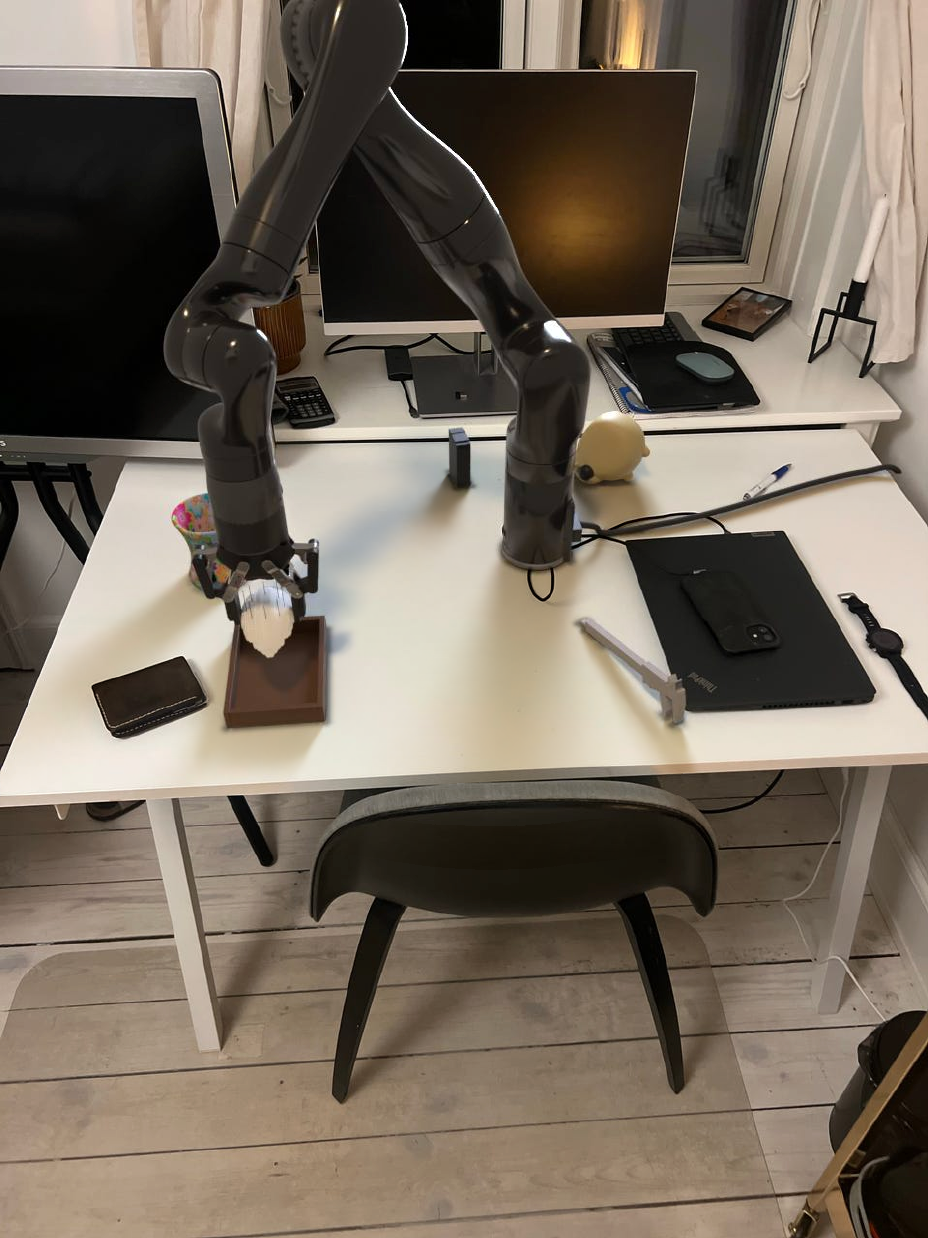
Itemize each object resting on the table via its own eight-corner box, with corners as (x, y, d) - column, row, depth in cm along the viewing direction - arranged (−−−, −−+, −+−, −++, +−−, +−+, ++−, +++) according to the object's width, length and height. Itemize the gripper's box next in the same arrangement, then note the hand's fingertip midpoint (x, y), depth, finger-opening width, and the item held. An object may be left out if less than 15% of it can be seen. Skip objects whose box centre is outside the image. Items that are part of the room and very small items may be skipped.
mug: (253, 594, 130) (240, 531, 123) (183, 598, 129) (166, 535, 122) (258, 540, 139) (247, 478, 132) (193, 544, 138) (178, 482, 131)
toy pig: (597, 477, 157) (551, 441, 152) (652, 427, 152) (606, 387, 147) (608, 511, 150) (560, 473, 145) (666, 458, 144) (619, 418, 139)
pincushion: (242, 594, 117) (235, 557, 113) (293, 588, 117) (287, 552, 114) (243, 662, 108) (235, 625, 104) (297, 656, 109) (291, 619, 105)
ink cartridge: (471, 486, 149) (471, 442, 143) (456, 489, 148) (456, 444, 143) (463, 469, 152) (463, 425, 147) (449, 471, 152) (448, 427, 147)
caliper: (682, 724, 112) (690, 686, 108) (674, 727, 112) (682, 689, 108) (585, 620, 126) (589, 584, 122) (578, 623, 125) (582, 586, 121)
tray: (326, 630, 125) (324, 615, 123) (325, 721, 113) (322, 706, 111) (238, 635, 124) (234, 620, 122) (226, 728, 112) (223, 713, 110)
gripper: (172, 525, 98) (202, 644, 109) (314, 517, 99) (330, 636, 110) (181, 483, 103) (209, 601, 114) (316, 476, 104) (331, 594, 115)
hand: (268, 618), depth 112 cm, fingers closed on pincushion, 6 cm apart
